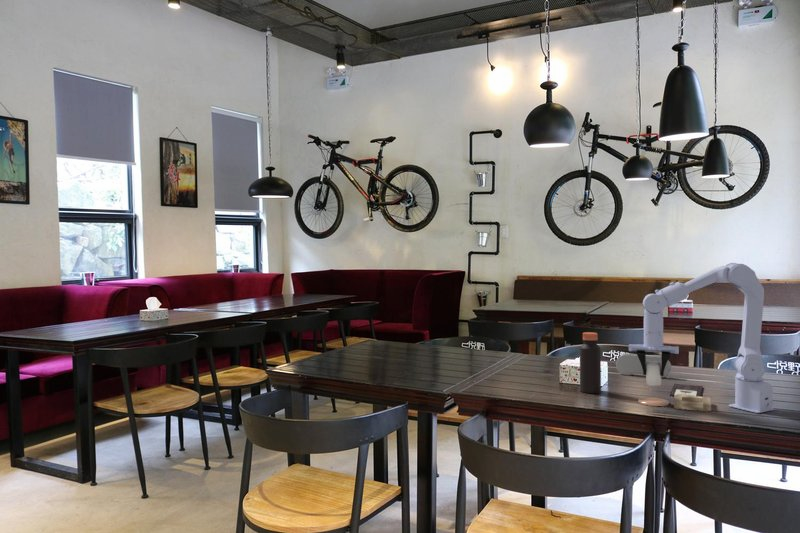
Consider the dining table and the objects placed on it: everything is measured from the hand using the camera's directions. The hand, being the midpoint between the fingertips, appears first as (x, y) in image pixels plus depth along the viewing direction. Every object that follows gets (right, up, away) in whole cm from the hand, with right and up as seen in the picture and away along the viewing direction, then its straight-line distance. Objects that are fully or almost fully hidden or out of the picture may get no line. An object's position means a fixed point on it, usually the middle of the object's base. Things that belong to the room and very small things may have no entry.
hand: (653, 374), depth 195 cm
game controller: (+12, -8, +40) cm, 42 cm away
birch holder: (+10, -9, -4) cm, 14 cm away
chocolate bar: (+17, -9, +14) cm, 24 cm away
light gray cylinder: (0, -3, 0) cm, 3 cm away
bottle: (-15, -9, +17) cm, 24 cm away
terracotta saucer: (0, -9, 0) cm, 9 cm away
